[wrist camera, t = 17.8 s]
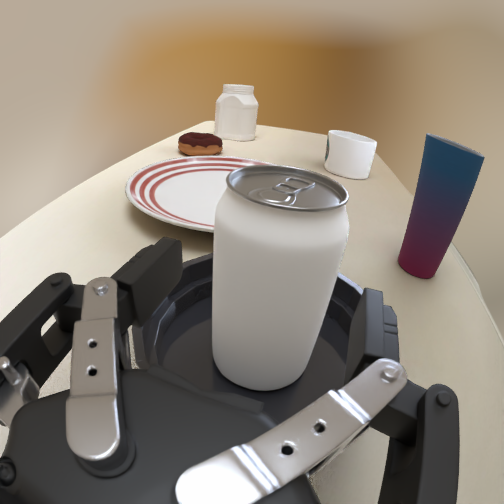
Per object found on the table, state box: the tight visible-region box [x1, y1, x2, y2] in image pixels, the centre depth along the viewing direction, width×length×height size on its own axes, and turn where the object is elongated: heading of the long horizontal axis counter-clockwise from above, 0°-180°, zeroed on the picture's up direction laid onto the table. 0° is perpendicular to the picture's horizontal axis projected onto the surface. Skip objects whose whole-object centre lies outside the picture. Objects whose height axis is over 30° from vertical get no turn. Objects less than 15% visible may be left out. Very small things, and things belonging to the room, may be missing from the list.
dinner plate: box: [125, 156, 276, 233], centre depth 41 cm, size 27×27×3 cm
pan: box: [132, 253, 363, 424], centre depth 19 cm, size 16×16×4 cm
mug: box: [324, 130, 377, 180], centre depth 61 cm, size 13×10×8 cm
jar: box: [214, 84, 258, 141], centre depth 77 cm, size 12×10×15 cm
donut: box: [178, 132, 223, 156], centre depth 63 cm, size 10×10×4 cm
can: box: [212, 165, 349, 391], centre depth 17 cm, size 6×6×12 cm
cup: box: [398, 133, 484, 279], centre depth 28 cm, size 7×7×15 cm
